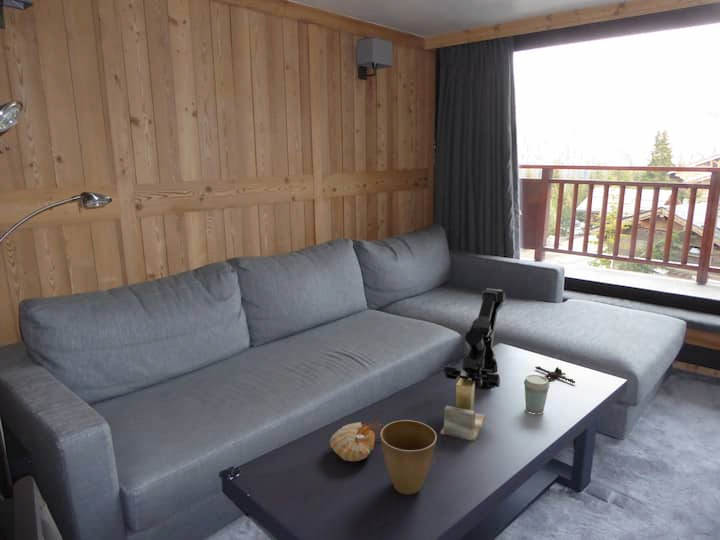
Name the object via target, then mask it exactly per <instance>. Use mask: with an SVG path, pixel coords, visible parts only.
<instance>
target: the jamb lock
mask: <svg viewBox="0 0 720 540" xmlns="http://www.w3.org/2000/svg"><path fill="white" fill-rule="evenodd" d="M443 418H444V419H443V427H442V428H441V430H440V434H441V435H444V436H445V435H446V436H450V437H454V438H459V439H462V440H465V441H466V440H467V441H471V442H475V441H476V439H477V436H478V435H479V432H480V431H481V427H482V425H483V423H484V421H485V419H484V418H486V414H482V413H476V412H475V410H474V411H471V410H466V409H461V408H456V406H450V405H446V406H445V408H444V416H443Z"/></svg>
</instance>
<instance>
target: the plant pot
mask: <svg viewBox="0 0 720 540" xmlns="http://www.w3.org/2000/svg"><path fill="white" fill-rule="evenodd" d="M381 430H382V431H380V432H381V434H380V440H381V441H380V443H381V446H382V452H383V457H384V461H385V465H386V469H387V471H388V475H389V477H390V480H391V482H392V486H393V488H394V489H395V491H397V492H398V493H400V494H403V495H413V494H416V493H418V492H419V491H420V490H421V488H422V486H423V484H424V482H425V480H426V478H427V475H428V473H429V469H430V466H431V463H432V459H433V456H434V451H435V448H436V443H437V442H436V441H437V433H436V431H435V430H434V429H433V428H432V427H430V426H429V425H427V424H425V423H424V422H421V421H415V420H410V419H402V420H397V421H392V422H390V423H388V424H385V425H384V427H383V428H381Z"/></svg>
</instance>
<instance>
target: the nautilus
mask: <svg viewBox="0 0 720 540" xmlns="http://www.w3.org/2000/svg"><path fill="white" fill-rule="evenodd" d="M373 421H374V420H371V421H370V423H369V422H368V423H366V422H365V423H364V424H362V422H361V421H360V422H353V423H348V424H346V425H344V426H342V427H341V428H339V429H338V430H337V431H335V433H333V434H332V436H331V438H330V439H329V444H330V447H331V448H332V450H333V451H334V452H335V454H337V455H338V456H339V458H341V459H342V460H344V461H348V462H359V461H361V460H364V459H367V457H368V456H369V454H370V453H371V452H373V450H374V445H375V443H381V441H380V440H379V441H377V440H376V439H377V438H379V437H380V436H377V435H376V434H378V435H381V431H382V429H383V428H384V427H382V426H384V424H382V423H381V424H380V423H379V422H380V420H378V421H377V422H375V423H372V422H373ZM371 423H372V424H371ZM378 423H379V424H378ZM367 424H368V425H367ZM376 428H377V429H378V431H376ZM380 428H381V429H380Z"/></svg>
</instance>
